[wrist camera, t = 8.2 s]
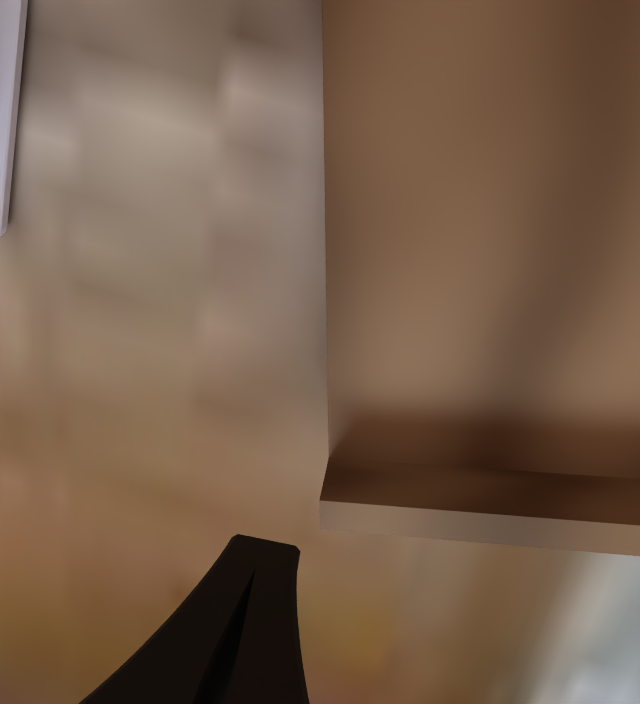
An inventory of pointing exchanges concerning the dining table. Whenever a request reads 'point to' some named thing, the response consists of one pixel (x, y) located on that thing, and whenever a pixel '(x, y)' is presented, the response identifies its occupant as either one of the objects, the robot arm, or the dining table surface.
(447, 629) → the dining table surface
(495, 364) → the walnut box
